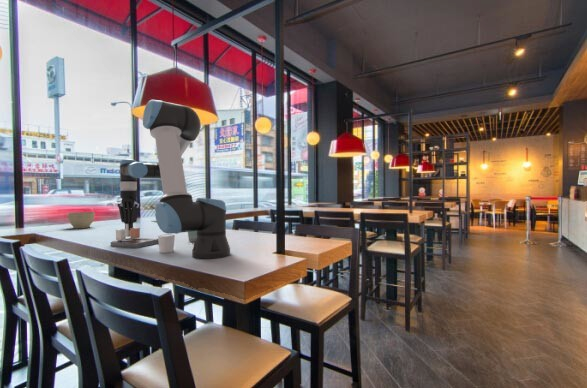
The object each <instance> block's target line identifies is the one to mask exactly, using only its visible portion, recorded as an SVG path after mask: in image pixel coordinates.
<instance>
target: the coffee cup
mask: <svg viewBox="0 0 587 388" xmlns="http://www.w3.org/2000/svg"><path fill="white" fill-rule="evenodd" d="M187 237H188V242H190V243H195V240H196V237H197V231H191V232H187Z"/></svg>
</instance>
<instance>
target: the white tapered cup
mask: <svg viewBox="0 0 587 388" xmlns="http://www.w3.org/2000/svg"><path fill="white" fill-rule="evenodd" d="M175 236H176V235H175V234H172V233H171V234H167V233H165V234H160V235H157V239H158V241H159V243H158V247H159V248H158V249H159V253H162V254H163V253H165V254H166V253H173V252H174V250H175V249H174V248H175Z"/></svg>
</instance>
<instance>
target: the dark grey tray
mask: <svg viewBox="0 0 587 388" xmlns="http://www.w3.org/2000/svg"><path fill="white" fill-rule="evenodd" d="M157 244H158V245H159V241H158V238H148V237H147V238H145V237H140V238H131V237H128V238H127V237H126V240H116V239H115V240H112V241H110V247H116V248H117V247H118V248H130V249H131V248H132V249H139V248H144V247H149V246H152V245H157Z"/></svg>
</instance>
